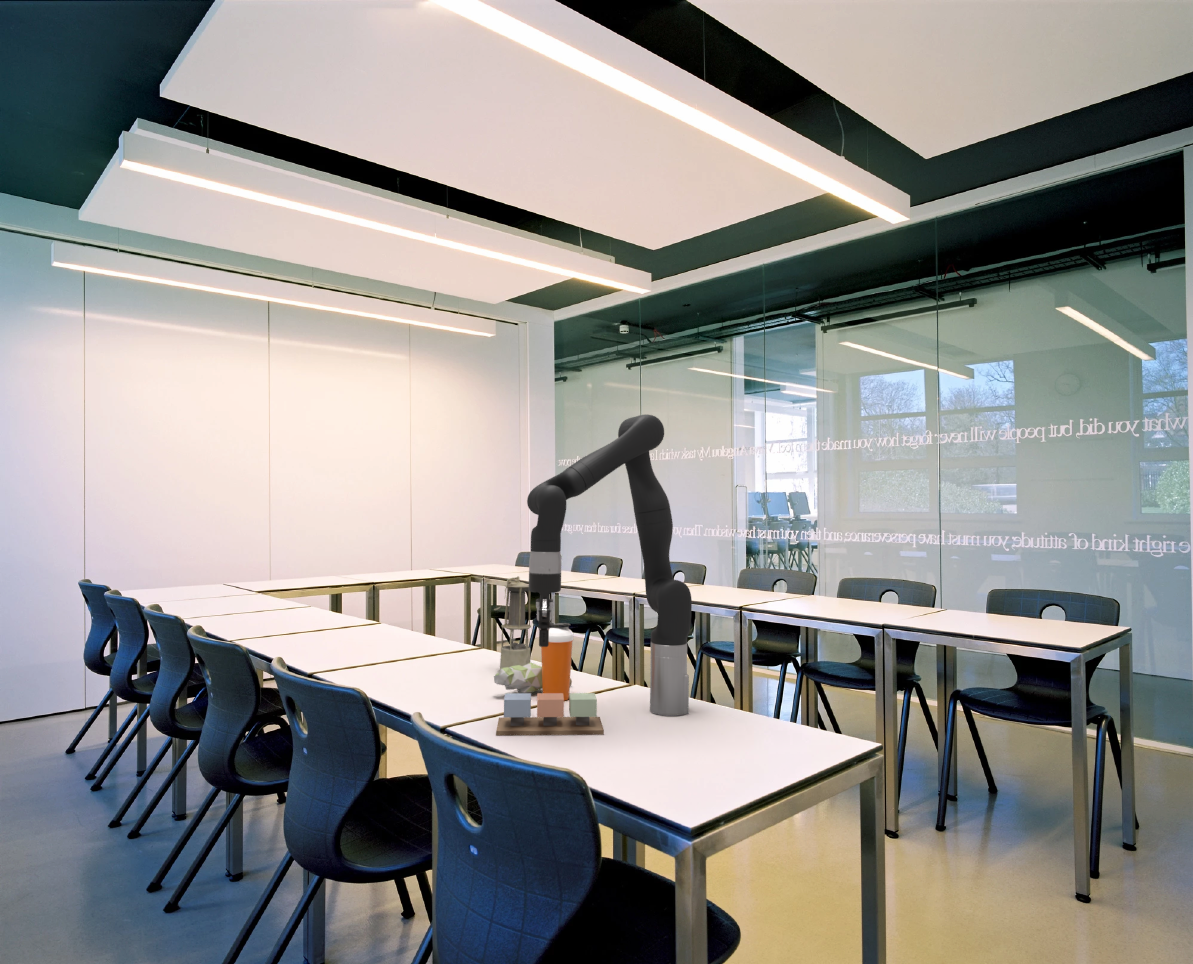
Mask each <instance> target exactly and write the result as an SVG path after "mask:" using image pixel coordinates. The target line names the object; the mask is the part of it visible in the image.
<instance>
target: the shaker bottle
mask: <svg viewBox="0 0 1193 964" xmlns="http://www.w3.org/2000/svg"><path fill="white" fill-rule="evenodd" d="M570 626H571V624H570V623H567V622H559V623H555V622H553V621H550V629H549V645H548V646H547V647H540V648H541V649H540V650H541V651H540V652H541V653H540V654H541V667H542V689H541V690H542V693H563V697H564V702H565V701H568V700H569V693H570V689H571V688H570V687H571V686H570V678H571V669H572V668H571V667H572V655H573V654H572V653H573V652H572V651H573V642H574V633H573V631H572V630H571V629H570V628H569V627H570Z"/></svg>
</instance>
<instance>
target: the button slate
mask: <svg viewBox="0 0 1193 964" xmlns="http://www.w3.org/2000/svg"><path fill="white" fill-rule="evenodd" d="M503 699H504V700H503V717H532V716H531V712H532V709H531V707H532V693H518V692H517V693H510V692H509V693H504V698H503Z"/></svg>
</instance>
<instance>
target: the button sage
mask: <svg viewBox="0 0 1193 964" xmlns="http://www.w3.org/2000/svg"><path fill="white" fill-rule="evenodd" d="M568 700H569V701H568V703H569V704H568V712H569V717H598V716H597V712H598V711H597V708H598V706H597V704H598V703H597V702H598V701H597V700H598V699H597V696H596V693H594V692H584V693H583V692H579V693H578V692H577V693H576V692H569V699H568Z"/></svg>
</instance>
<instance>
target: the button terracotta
mask: <svg viewBox="0 0 1193 964" xmlns="http://www.w3.org/2000/svg"><path fill="white" fill-rule="evenodd" d="M536 695H537V700H536V701H537V704H536V717H565V716H564V715H565V713H564V712H565V711H564V707H565V705H564V704H565V701H564V697H563V693H541V692H540V693H539V692H537V694H536Z"/></svg>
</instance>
